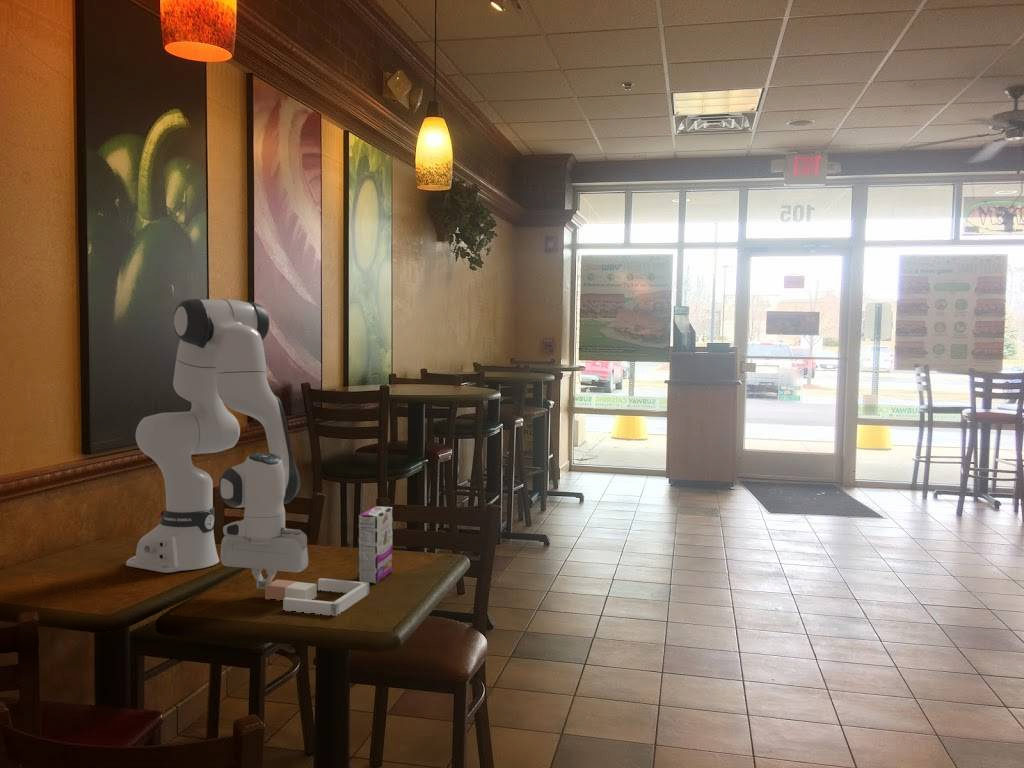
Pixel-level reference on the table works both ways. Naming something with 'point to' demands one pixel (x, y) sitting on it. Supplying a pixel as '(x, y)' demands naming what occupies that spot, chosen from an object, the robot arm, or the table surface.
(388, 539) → the candy bar box
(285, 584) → the terracotta tile
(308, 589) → the cream tile
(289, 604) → the box
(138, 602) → the table surface
